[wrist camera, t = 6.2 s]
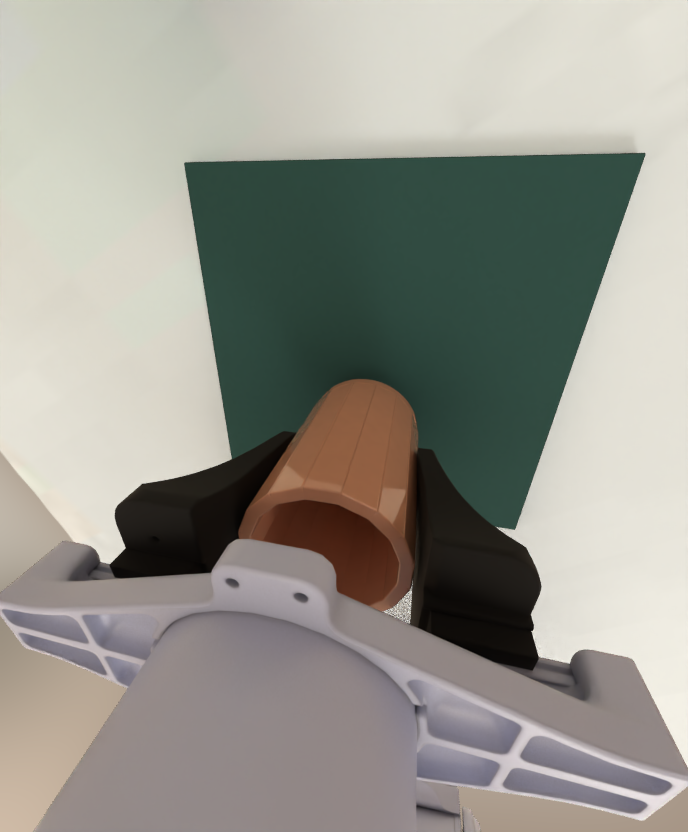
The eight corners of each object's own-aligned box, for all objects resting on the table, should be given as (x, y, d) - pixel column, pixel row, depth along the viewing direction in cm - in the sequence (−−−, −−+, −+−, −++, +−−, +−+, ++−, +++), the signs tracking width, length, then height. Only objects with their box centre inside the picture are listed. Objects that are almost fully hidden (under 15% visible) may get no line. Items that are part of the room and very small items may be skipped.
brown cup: (411, 477, 18) (403, 632, 11) (314, 463, 19) (248, 599, 12) (424, 383, 16) (425, 506, 9) (312, 373, 17) (226, 475, 10)
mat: (513, 523, 23) (515, 530, 22) (239, 480, 26) (235, 485, 26) (638, 156, 14) (646, 152, 13) (190, 164, 17) (183, 162, 16)
